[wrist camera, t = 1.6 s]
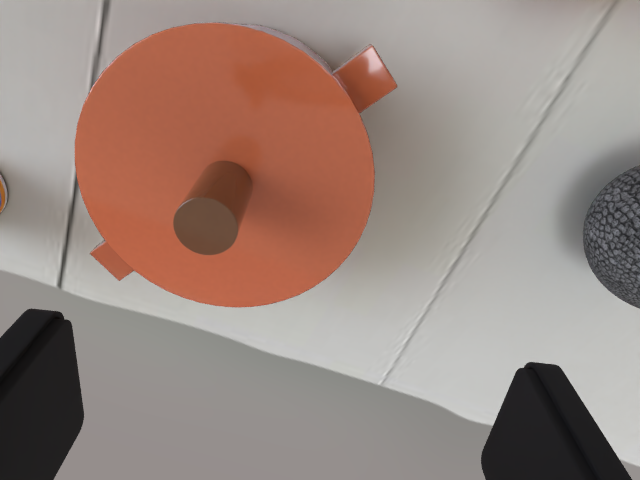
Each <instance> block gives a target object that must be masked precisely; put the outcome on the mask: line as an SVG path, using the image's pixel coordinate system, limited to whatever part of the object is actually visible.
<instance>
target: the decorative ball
mask: <svg viewBox="0 0 640 480" xmlns="http://www.w3.org/2000/svg"><path fill="white" fill-rule="evenodd" d="M583 243H584V250H585V254H586V258H587V260H588V263H589V265H590V267H591V269H592V271H593V273H594V274H595V276H596V277H597V278H598V280H599V281H600V282H601V283H602V284H603V285H604V286H605V287H606V288H607V289H608V290H609V291H610V292H611V293H613V294H614V295H615V296H617V297H618V298H620V299H621V300H623V301H625V302H627V303H629V304H631V305H633V306H635V307H637V308H640V165H639V166H637V167H634V168H632V169H630V170H628V171H626V172H624V173H623V174H621V175H620V176H618V177H617V178H615V179H614V180H613V181H611V182H610V183H609V184H608V185H607V186H606V187H605V188H604V189H603V190H602V191H601V192H600V193H599V194H598V196H597V197H596V198H595V200H594V201H593V203H592V204H591V206H590V208H589V210H588V213H587V215H586V219H585V223H584V230H583Z"/></svg>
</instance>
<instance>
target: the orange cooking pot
mask: <svg viewBox="0 0 640 480" xmlns="http://www.w3.org/2000/svg"><path fill="white" fill-rule="evenodd" d="M239 25H244V26H248V27H252V28H256V29H260V30H264V31H266V32H268V33H271V34H273V35H276V36H278V37H281V38H283V39H285V40H287V41H289V42H290V43H292V44H294V45H296V46H297V47H299V48H301V49H303V50H304V51H305V52H307V53H308V54H309V55H311V56H312V57H313V58H315V59H316V60H317V61H318V62H320V63H321V64H322V65H323V66H324V67H325V68H326V69H327V70H328V71H329V72H330V73H331V74H332V75H333V76H334V77H335V78H336V79H337V80H338V82H339V83H340V84H341V86H342V87H343V88H344V89H345V91H346V92H347V93H348V95H349V96H350V98H351V100H352V101H353V103H354V105H355V107H356V108H357V110H358V112H359V113H361V112H362V111H364V110H365V109H367V108H368V107H369V106H371V105H372V104H374V103H375V102H377V101H378V100H380V99H381V98H382V97H384V96H385V95H387V94H388V93H390V92H391V91H392V90H394V89H395V88H397V84H396V82H395V81H394V79H393V77H392V76H391V74H390V73H389V71H388V69H387V68H386V66H385V64H384V63H383V61H382V59H381V58H380V56H379V55H378V53H377V51H376V50H375V48H374V46H373V45H372V44H369V45H368V46H366V47H365V48H364V49H362V50H361V51H360V52H358V53H357V54H356V55H354V56H353V57H351V58H350V59H349V60H347V61H346V62H345V63H343V64H342V65H341V66H339V67H338V68H337V69H335V70H334V71H332V70H331V68H330V67H329V65H328V64H327V63H326V62H325V61H324V60H323V59H322V58H321V57H319V56H318V55H317V54H316V53H315V52H314V51H313V50H311V49H310V48H309V47H307V46H306V45H305V44H303V43H302V42H300V41H299V40H298V39H296V38H294V37H292V36H289V35H287V34H284V33H282V32H280V31H277V30H274V29H270V28H267V27H264V26H261V25H260V26H259V25H247V24H239ZM90 254H91V255H92V256H93V257H94V258H95V259H96V260H97V261H98V262H100V263H101V264H102V265H103V266H104V267H105V268H106V269H107V270H108V271H109V272H110V273H111V274H112V275H113V276H114V277H115V278H117V279H118V280H119V281H120V280H121V279H123V278H124V277H126V276H127V275H128V274H130V273H131V272H133V271H134V269H132V268H131V267H130V266H129V265H128V264H127V263H125V262H124V261H123V260H122V259H121V258H120V257H119V256H118V255H117V254H116V252H115V251H114V250H113V249H112V248H111V247H110V246H109V245H108V243H107V242H106V240H104V241H102V242H101V243H99V244H98V245H97V246H96V247H95V248H94V249H93V250H92V251H91V252H90Z"/></svg>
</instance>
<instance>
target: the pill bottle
mask: <svg viewBox="0 0 640 480" xmlns="http://www.w3.org/2000/svg"><path fill="white" fill-rule="evenodd" d="M6 203H7V188H6V185H5V182H4V180H3V178H2V176H1V174H0V213H1V212H2V211H3V209H4V208H5V206H6Z"/></svg>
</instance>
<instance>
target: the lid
mask: <svg viewBox="0 0 640 480" xmlns="http://www.w3.org/2000/svg"><path fill="white" fill-rule="evenodd" d="M75 166H76V173H77V180H78V184H79V187H80V191H81V195H82V198H83V201H84V203H85V205H86V208H87V210H88V213H89V215H90V217H91V219H92V220H93V222H94V224H95V226H96V227H97V229H98V231H99V232H100V234H101V235H102V236H103V238H104V239H105V240H106V242H107V243H108V245H109V246H110V247H111V248H112V249H113V250H114V251H115V252H116V254H117V255H118V256H119V257H120V258H121V259H122V260H123V261H124V262H125V263H127V264H128V265H129V266H130V267H131V268H132V269H134V270H135V271H136V272H137V273H139V274H140V275H142V276H143V277H144V278H146V279H147V280H149V281H150V282H152V283H154V284H155V285H157V286H159V287H161V288H163V289H165V290H166V291H169V292H171V293H173V294H176V295H178V296H181V297H183V298H186V299H190V300H193V301H196V302H199V303H205V304H210V305H215V306H225V307H253V306H261V305H268V304H272V303H276V302H280V301H283V300H286V299H289V298H291V297H294V296H297V295H299V294H301V293H303V292H305V291H307V290H309V289H311V288H313V287H314V286H316V285H317V284H319V283H320V282H321V281H323V280H324V279H326V278H327V277H328V276H329V275H330V274H332V273H333V272H334V271H335V270H336V269H337V268H338V267H339V266H340V265H341V264H342V263H343V262H344V260H345V259H346V258H347V257H348V256H349V255H350V253H351V252H352V250H353V249H354V247H355V245H356V244H357V242H358V241H359V239H360V237H361V235H362V233H363V231H364V228H365V226H366V224H367V221H368V217H369V214H370V211H371V207H372V201H373V195H374V182H375V170H374V161H373V153H372V149H371V145H370V141H369V137H368V134H367V131H366V128H365V126H364V123H363V121H362V118H361V116H360V114H359V112H358V110H357V108H356V107H355V105H354V103H353V101H352V100H351V98H350V96H349V95H348V93H347V92H346V91H345V89H344V88H343V87H342V86H341V84H340V83H339V82H338V80H337V79H336V78H335V77H334V76H333V75H332V74H331V73H330V72H329V71H328V70H327V69H326V68H325V67H324V66H323V65H322V64H321V63H320V62H318V61H317V60H316V59H315V58H313V57H312V56H311V55H309V54H308V53H307V52H305V51H304V50H303V49H301V48H299V47H297V46H296V45H294V44H292V43H290V42H289V41H287V40H285V39H283V38H281V37H278V36H276V35H273V34H271V33H268V32H266V31H264V30H260V29H256V28H252V27H248V26H244V25H239V24H230V23H221V22H212V23H194V24H188V25H183V26H177V27H173V28H170V29H167V30H164V31H161V32H158V33H155V34H152V35H150V36H148V37H147V38H145V39H143V40H141V41H139V42H137V43H135V44H133V45H132V46H131V47H129V48H128V49H127V50H125V51H124V52H123V53H121V54H120V55H119V56H117V57H116V58H115V59H114V60H113V61H112V62H111V64H110V65H109V66H108V67H107V68H106V69H105V70H104V71H103V72H102V73H101V75H100V76H99V78H98V79H97V81H96V82H95V83H94V85H93V86H92V88H91V90H90V92H89V94H88V96H87V98H86V100H85V102H84V104H83V107H82V111H81V114H80V117H79V121H78V124H77V131H76V138H75Z"/></svg>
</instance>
